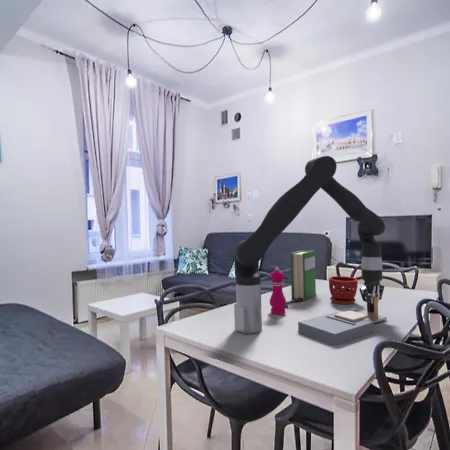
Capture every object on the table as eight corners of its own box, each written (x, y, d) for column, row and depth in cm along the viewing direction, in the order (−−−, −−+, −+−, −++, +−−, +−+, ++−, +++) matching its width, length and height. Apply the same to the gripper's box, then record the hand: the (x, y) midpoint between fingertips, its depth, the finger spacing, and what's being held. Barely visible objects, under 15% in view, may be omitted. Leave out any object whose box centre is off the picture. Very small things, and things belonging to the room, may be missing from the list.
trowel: (365, 325, 117) (365, 301, 117) (349, 320, 123) (348, 298, 123) (387, 319, 125) (386, 296, 125) (370, 315, 130) (370, 293, 130)
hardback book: (305, 300, 160) (304, 253, 160) (291, 299, 164) (290, 252, 164) (315, 293, 175) (314, 250, 175) (302, 292, 179) (301, 250, 179)
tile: (353, 322, 112) (353, 319, 112) (334, 317, 119) (334, 314, 119) (368, 317, 117) (368, 315, 117) (349, 313, 124) (349, 310, 124)
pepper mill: (273, 309, 144) (272, 265, 144) (288, 311, 141) (287, 266, 141) (267, 313, 138) (266, 267, 138) (282, 315, 134) (281, 268, 135)
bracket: (311, 305, 152) (311, 300, 152) (285, 309, 146) (285, 303, 146) (294, 299, 165) (294, 294, 165) (269, 303, 160) (269, 297, 160)
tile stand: (335, 344, 101) (334, 332, 101) (298, 331, 114) (298, 320, 114) (374, 331, 112) (373, 320, 112) (336, 320, 125) (336, 311, 125)
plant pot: (329, 305, 150) (328, 279, 150) (329, 298, 163) (328, 275, 163) (359, 306, 146) (358, 280, 146) (357, 300, 158) (356, 276, 158)
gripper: (370, 270, 119) (370, 316, 118) (390, 267, 126) (391, 311, 126) (352, 268, 125) (353, 312, 125) (373, 265, 132) (373, 307, 132)
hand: (372, 311), depth 125 cm, fingers closed on trowel, 2 cm apart
